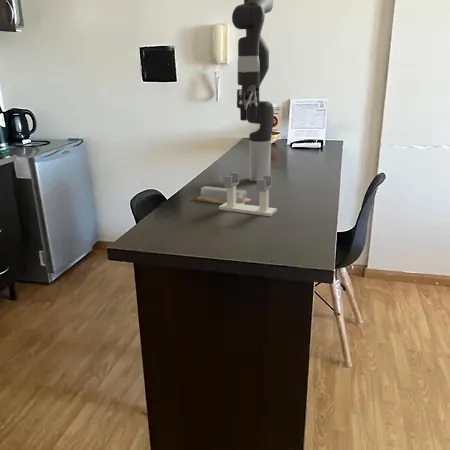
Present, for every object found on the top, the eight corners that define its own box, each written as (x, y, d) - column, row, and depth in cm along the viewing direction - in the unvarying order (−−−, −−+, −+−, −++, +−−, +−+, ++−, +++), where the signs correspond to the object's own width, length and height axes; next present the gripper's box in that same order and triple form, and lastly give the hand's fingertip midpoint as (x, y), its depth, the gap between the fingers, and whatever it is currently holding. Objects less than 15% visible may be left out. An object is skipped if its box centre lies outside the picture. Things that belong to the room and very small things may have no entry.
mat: (206, 194, 175) (205, 193, 174) (251, 200, 167) (251, 198, 167) (195, 200, 168) (195, 198, 168) (242, 206, 160) (242, 204, 160)
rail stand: (226, 204, 162) (226, 171, 158) (277, 211, 154) (278, 176, 150) (218, 209, 156) (217, 175, 152) (270, 216, 148) (271, 180, 144)
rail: (205, 195, 172) (205, 186, 171) (246, 199, 165) (246, 190, 164) (200, 197, 169) (200, 188, 168) (242, 202, 162) (242, 192, 161)
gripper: (246, 70, 162) (246, 116, 167) (229, 71, 150) (230, 121, 155) (266, 69, 158) (265, 117, 164) (250, 70, 146) (250, 121, 152)
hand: (248, 119), depth 159 cm, fingers open, 8 cm apart
